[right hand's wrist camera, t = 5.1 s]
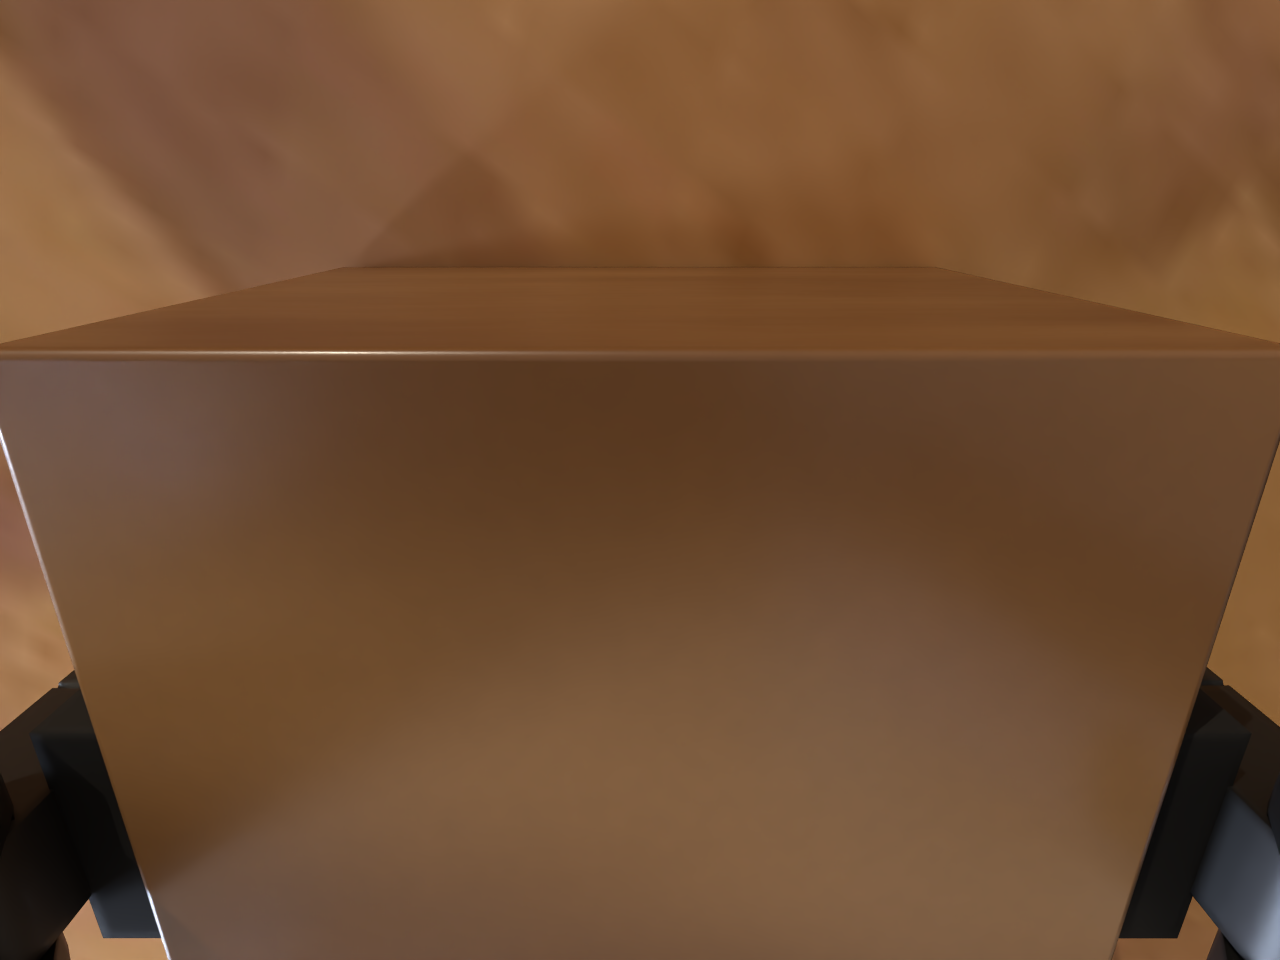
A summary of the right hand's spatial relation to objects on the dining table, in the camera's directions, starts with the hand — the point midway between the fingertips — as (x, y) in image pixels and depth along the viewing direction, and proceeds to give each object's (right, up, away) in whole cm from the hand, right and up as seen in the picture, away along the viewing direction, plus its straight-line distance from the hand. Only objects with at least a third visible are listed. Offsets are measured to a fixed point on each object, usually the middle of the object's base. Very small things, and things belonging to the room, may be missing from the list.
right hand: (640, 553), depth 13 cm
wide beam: (0, -28, +11) cm, 30 cm away
